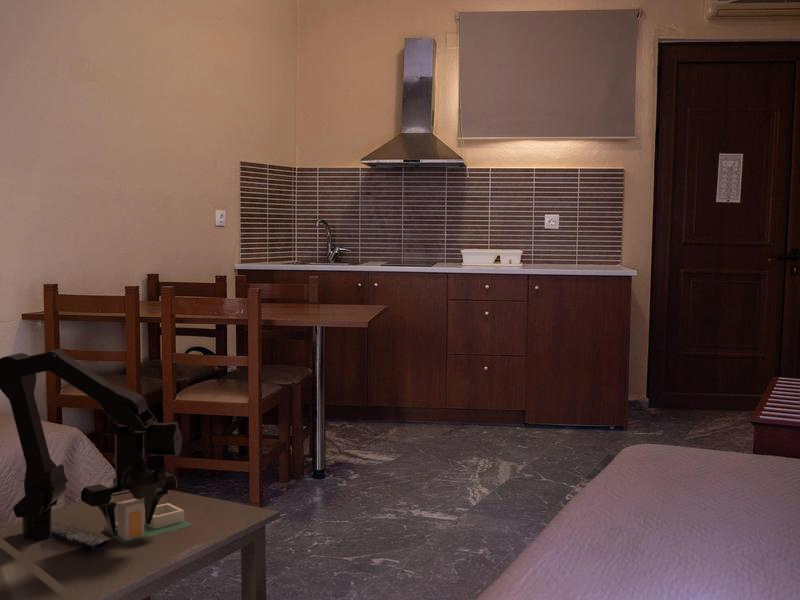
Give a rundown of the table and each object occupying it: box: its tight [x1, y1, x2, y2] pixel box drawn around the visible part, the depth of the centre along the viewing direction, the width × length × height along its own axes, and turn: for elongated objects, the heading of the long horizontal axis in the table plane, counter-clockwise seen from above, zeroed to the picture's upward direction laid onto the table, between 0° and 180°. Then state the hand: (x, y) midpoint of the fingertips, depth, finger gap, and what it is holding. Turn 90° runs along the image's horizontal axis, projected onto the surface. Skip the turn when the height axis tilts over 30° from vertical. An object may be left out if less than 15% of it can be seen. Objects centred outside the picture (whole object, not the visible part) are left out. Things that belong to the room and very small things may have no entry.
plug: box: [116, 498, 145, 540], centre depth 168 cm, size 4×4×7 cm
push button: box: [103, 521, 118, 537], centre depth 171 cm, size 5×5×2 cm
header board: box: [102, 502, 194, 544], centre depth 173 cm, size 10×16×4 cm, turn 134°
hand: (130, 528), depth 168 cm, fingers open, 7 cm apart
